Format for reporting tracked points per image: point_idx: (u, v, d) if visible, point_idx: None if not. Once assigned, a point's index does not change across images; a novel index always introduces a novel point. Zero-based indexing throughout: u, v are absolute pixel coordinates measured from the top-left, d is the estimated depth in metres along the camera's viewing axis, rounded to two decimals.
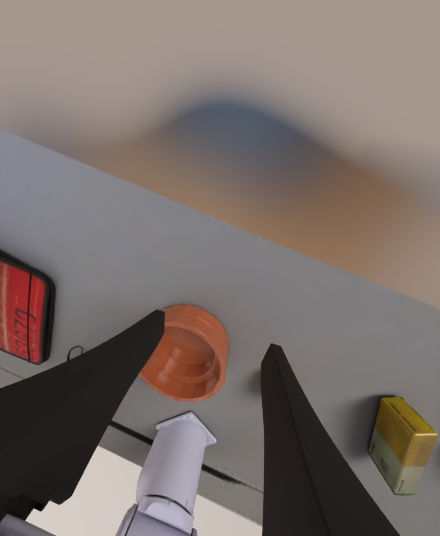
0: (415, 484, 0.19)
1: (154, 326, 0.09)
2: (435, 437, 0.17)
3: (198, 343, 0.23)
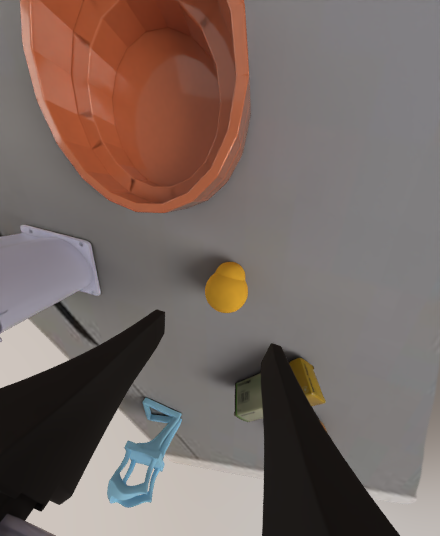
0: (257, 418, 0.21)
1: (154, 326, 0.09)
2: (320, 403, 0.17)
3: (181, 141, 0.12)
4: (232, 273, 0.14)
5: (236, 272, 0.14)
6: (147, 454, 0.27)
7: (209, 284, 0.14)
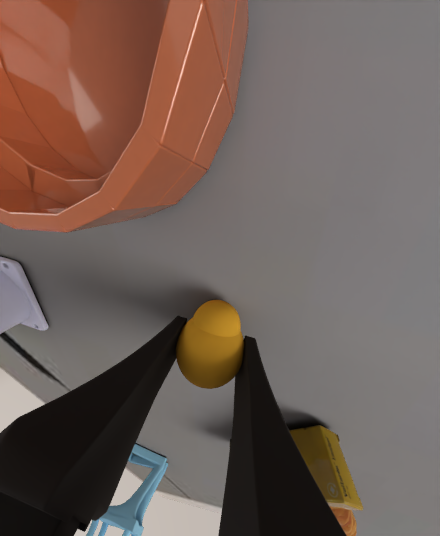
0: None
1: (178, 333, 0.09)
2: None
3: (120, 96, 0.07)
4: (218, 326, 0.08)
5: (225, 324, 0.08)
6: (119, 524, 0.21)
7: (180, 341, 0.09)
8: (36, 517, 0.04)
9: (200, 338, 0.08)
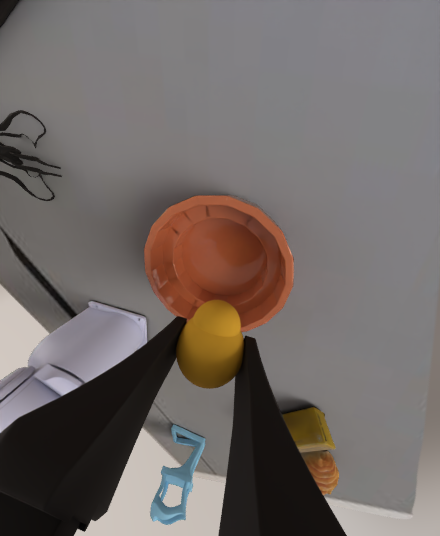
0: None
1: (178, 333, 0.09)
2: (331, 448, 0.21)
3: (231, 271, 0.17)
4: (218, 326, 0.08)
5: (225, 324, 0.08)
6: (181, 478, 0.31)
7: (180, 341, 0.09)
8: (36, 517, 0.04)
9: (200, 338, 0.08)
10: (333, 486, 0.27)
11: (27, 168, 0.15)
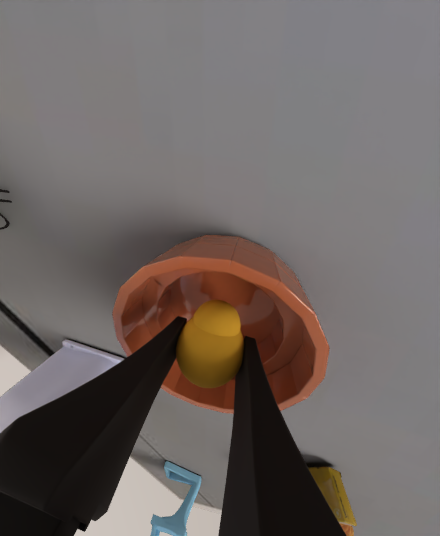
0: None
1: (178, 333, 0.09)
2: (352, 525, 0.18)
3: None
4: (218, 326, 0.08)
5: (225, 324, 0.08)
6: (173, 531, 0.27)
7: (180, 341, 0.09)
8: (36, 517, 0.04)
9: (200, 338, 0.08)
10: None
11: None
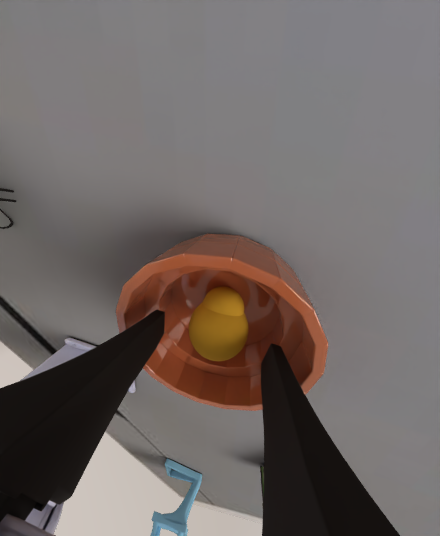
0: None
1: (154, 326, 0.09)
2: None
3: None
4: (226, 307, 0.10)
5: (232, 305, 0.10)
6: (174, 527, 0.28)
7: (193, 322, 0.10)
8: None
9: (212, 317, 0.09)
10: None
11: None
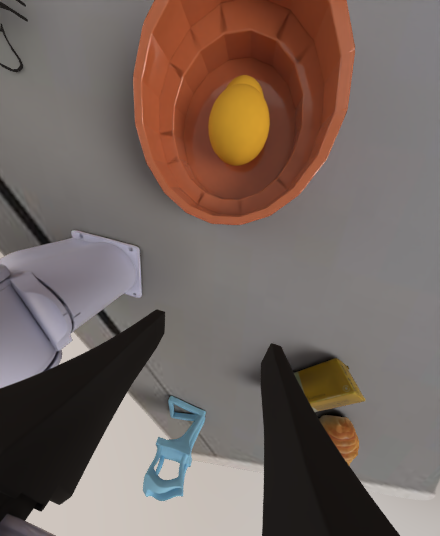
0: None
1: (154, 326, 0.09)
2: (360, 401, 0.18)
3: None
4: (250, 79, 0.09)
5: (255, 81, 0.10)
6: (178, 450, 0.28)
7: (216, 100, 0.10)
8: None
9: (237, 84, 0.09)
10: (353, 456, 0.24)
11: None
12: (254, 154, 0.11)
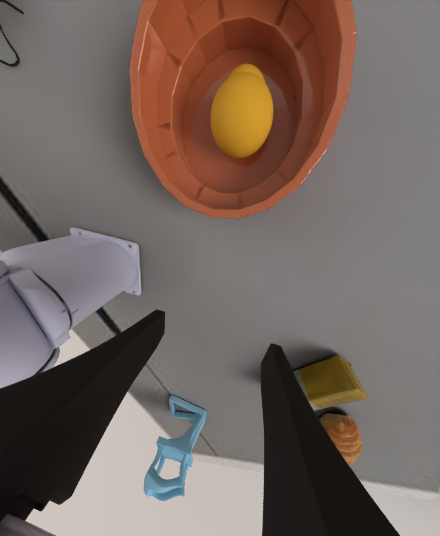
0: None
1: (154, 326, 0.09)
2: (363, 398, 0.17)
3: None
4: (254, 68, 0.09)
5: (259, 71, 0.10)
6: (179, 449, 0.27)
7: (221, 88, 0.09)
8: None
9: (243, 72, 0.09)
10: (356, 455, 0.24)
11: None
12: (258, 146, 0.11)
